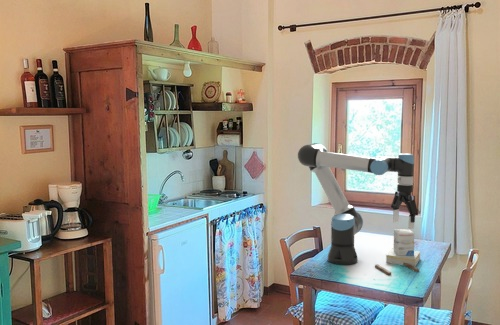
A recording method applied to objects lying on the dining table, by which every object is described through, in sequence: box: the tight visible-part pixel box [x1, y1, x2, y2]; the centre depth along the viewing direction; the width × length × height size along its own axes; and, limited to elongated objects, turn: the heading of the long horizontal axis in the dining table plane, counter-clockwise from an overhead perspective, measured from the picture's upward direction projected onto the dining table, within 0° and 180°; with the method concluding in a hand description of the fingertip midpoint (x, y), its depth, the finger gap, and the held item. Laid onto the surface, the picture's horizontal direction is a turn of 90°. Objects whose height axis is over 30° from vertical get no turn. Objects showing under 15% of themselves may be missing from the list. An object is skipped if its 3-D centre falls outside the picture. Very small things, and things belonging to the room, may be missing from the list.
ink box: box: [393, 228, 415, 255], centre depth 236 cm, size 9×8×12 cm
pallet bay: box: [374, 263, 420, 276], centre depth 224 cm, size 12×16×1 cm
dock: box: [385, 247, 421, 267], centre depth 237 cm, size 14×14×4 cm
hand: (403, 225), depth 236 cm, fingers open, 13 cm apart
